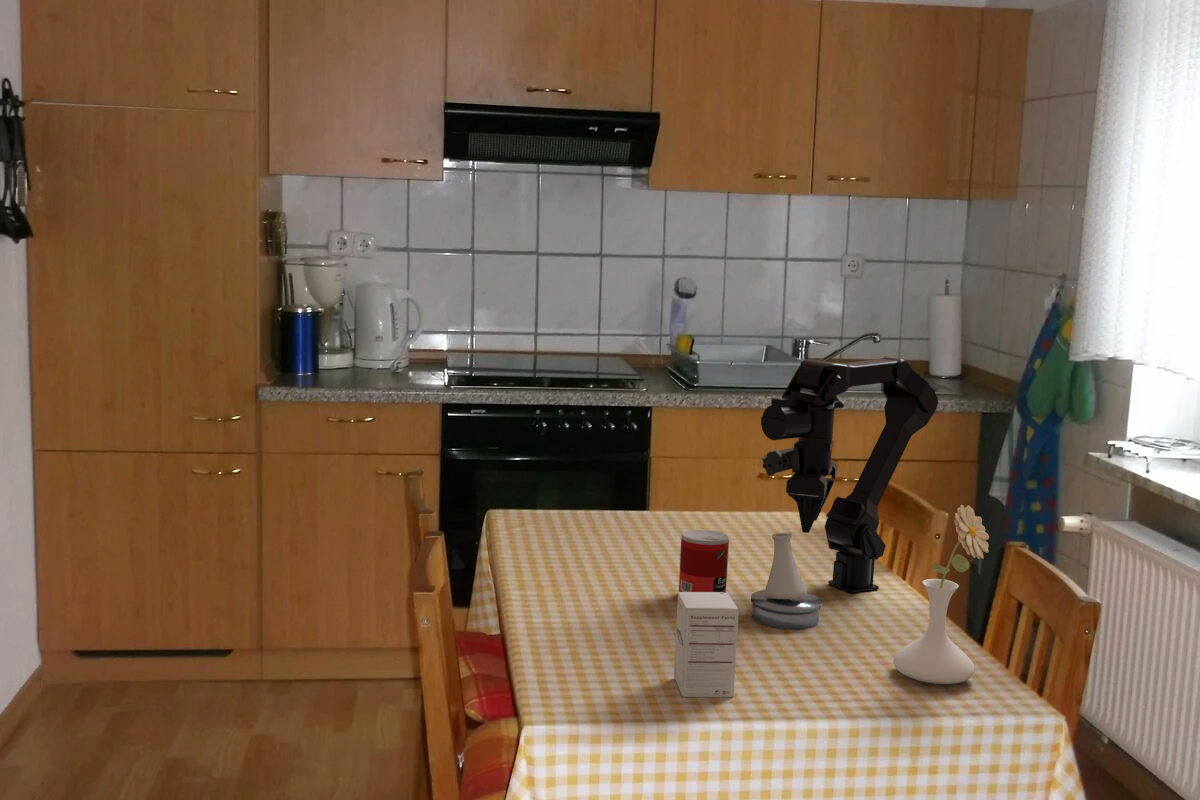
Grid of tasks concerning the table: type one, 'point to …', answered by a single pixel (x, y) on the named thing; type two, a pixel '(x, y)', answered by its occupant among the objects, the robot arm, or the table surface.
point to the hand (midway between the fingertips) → (809, 526)
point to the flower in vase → (944, 614)
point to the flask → (784, 571)
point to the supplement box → (706, 644)
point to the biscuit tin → (786, 611)
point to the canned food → (703, 561)
